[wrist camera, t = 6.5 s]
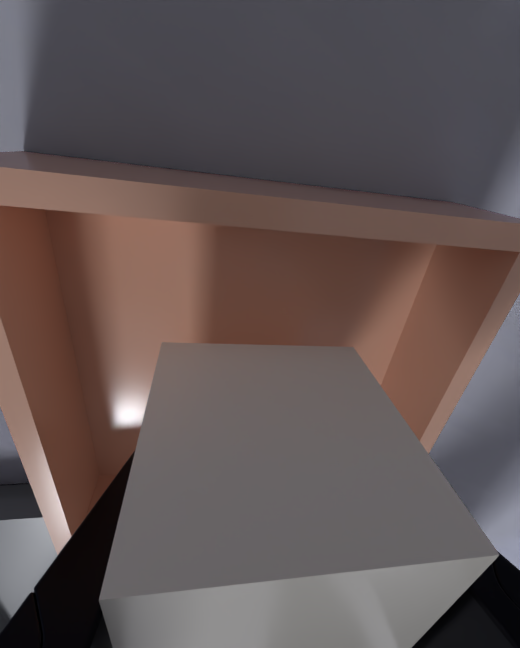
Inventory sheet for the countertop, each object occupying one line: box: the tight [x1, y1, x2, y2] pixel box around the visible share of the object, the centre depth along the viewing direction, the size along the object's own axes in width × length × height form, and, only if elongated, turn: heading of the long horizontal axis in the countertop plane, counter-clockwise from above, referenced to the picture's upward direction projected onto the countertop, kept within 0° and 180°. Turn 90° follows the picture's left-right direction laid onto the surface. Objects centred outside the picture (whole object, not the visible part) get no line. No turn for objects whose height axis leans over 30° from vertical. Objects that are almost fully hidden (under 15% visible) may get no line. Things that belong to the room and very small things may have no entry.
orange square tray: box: [0, 151, 520, 555], centre depth 10 cm, size 12×12×4 cm
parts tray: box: [0, 484, 58, 632], centre depth 17 cm, size 14×14×2 cm
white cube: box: [99, 342, 499, 648], centre depth 7 cm, size 5×5×5 cm
